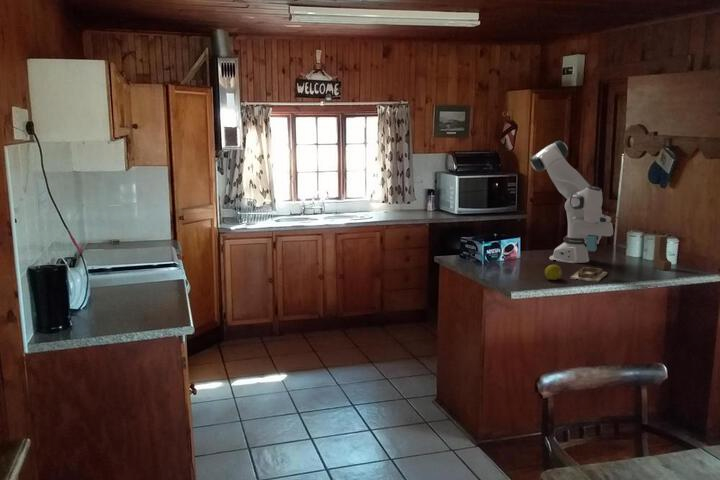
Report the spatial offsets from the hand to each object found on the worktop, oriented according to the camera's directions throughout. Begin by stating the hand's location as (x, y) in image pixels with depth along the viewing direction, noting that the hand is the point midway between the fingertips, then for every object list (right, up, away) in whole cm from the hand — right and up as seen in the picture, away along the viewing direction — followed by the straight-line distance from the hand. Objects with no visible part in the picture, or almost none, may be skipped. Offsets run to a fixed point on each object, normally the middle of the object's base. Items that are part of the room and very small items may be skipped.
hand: (591, 243), depth 330 cm
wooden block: (+44, -14, +14) cm, 48 cm away
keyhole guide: (-1, -17, +2) cm, 17 cm away
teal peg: (0, -4, +1) cm, 4 cm away
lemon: (-22, -19, -5) cm, 29 cm away
